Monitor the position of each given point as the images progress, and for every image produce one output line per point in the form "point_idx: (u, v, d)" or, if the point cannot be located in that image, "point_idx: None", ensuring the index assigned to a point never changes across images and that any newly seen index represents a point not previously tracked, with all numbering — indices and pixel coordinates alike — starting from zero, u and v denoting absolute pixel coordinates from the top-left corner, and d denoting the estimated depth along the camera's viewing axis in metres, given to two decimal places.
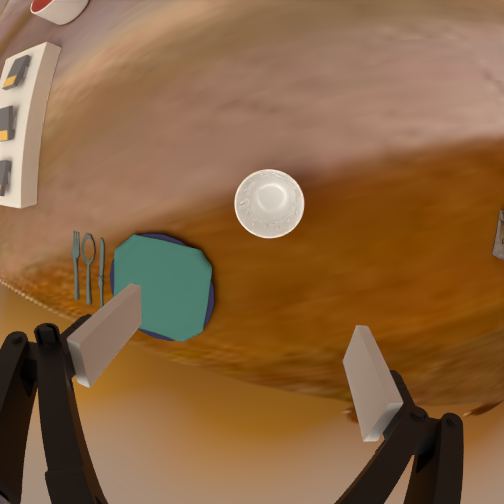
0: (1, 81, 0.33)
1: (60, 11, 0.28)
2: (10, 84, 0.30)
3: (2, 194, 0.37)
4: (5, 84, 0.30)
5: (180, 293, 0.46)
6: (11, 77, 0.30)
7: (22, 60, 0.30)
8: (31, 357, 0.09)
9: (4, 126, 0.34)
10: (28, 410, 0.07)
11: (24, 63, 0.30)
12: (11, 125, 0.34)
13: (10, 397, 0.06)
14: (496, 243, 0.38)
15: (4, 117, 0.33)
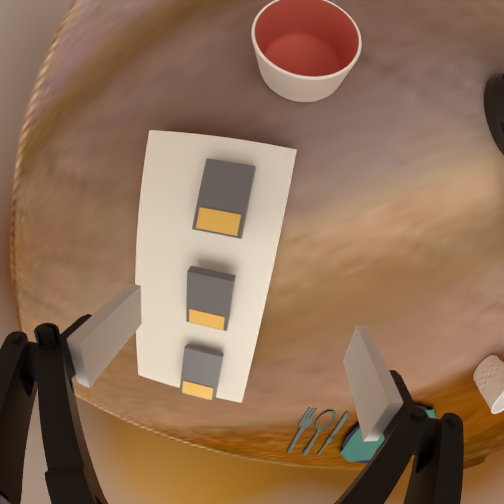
0: (148, 182, 0.29)
1: (325, 89, 0.24)
2: (226, 233, 0.27)
3: (215, 397, 0.34)
4: (203, 223, 0.27)
5: None
6: (218, 210, 0.27)
7: (243, 177, 0.26)
8: (31, 357, 0.09)
9: (213, 308, 0.30)
10: (28, 410, 0.07)
11: (251, 187, 0.27)
12: (230, 307, 0.31)
13: (10, 397, 0.06)
14: None
15: (214, 294, 0.29)
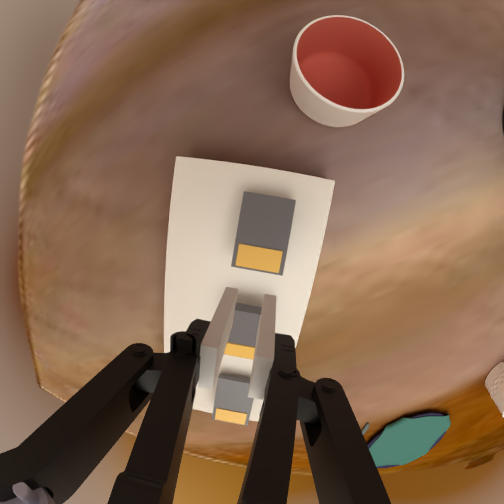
0: (176, 213, 0.29)
1: (363, 118, 0.23)
2: (267, 271, 0.26)
3: None
4: (243, 260, 0.26)
5: (421, 439, 0.42)
6: (258, 246, 0.26)
7: (284, 211, 0.26)
8: (160, 369, 0.11)
9: (251, 341, 0.29)
10: (126, 424, 0.09)
11: (291, 221, 0.26)
12: None
13: (107, 411, 0.08)
14: None
15: (253, 328, 0.28)
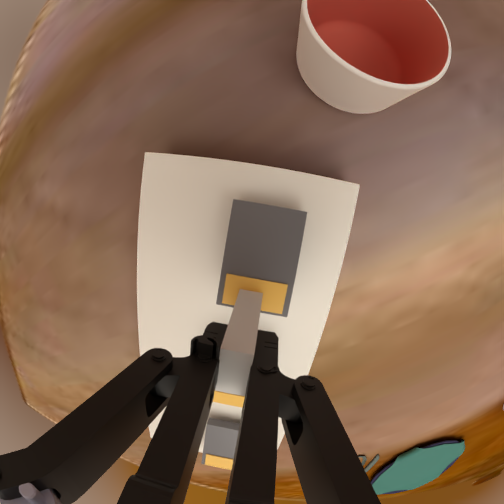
0: (146, 227, 0.21)
1: (397, 100, 0.16)
2: (266, 311, 0.18)
3: None
4: (233, 297, 0.18)
5: (432, 465, 0.34)
6: (254, 278, 0.18)
7: (290, 228, 0.18)
8: (180, 373, 0.11)
9: None
10: (141, 428, 0.09)
11: None
12: None
13: (122, 416, 0.08)
14: None
15: None
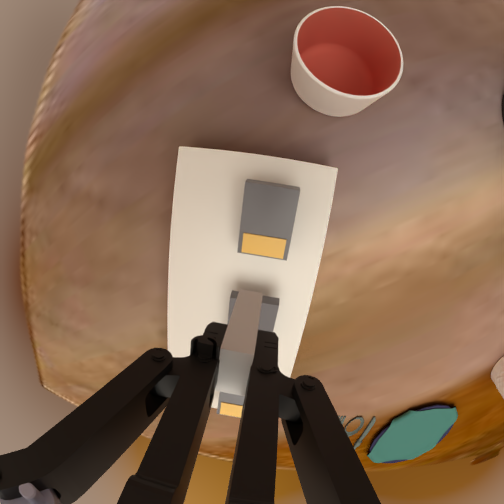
0: (179, 202, 0.29)
1: (364, 106, 0.23)
2: (272, 256, 0.27)
3: None
4: (249, 248, 0.27)
5: (428, 433, 0.41)
6: (262, 235, 0.26)
7: (288, 202, 0.25)
8: (180, 373, 0.11)
9: None
10: (141, 428, 0.09)
11: None
12: None
13: (122, 416, 0.08)
14: None
15: None
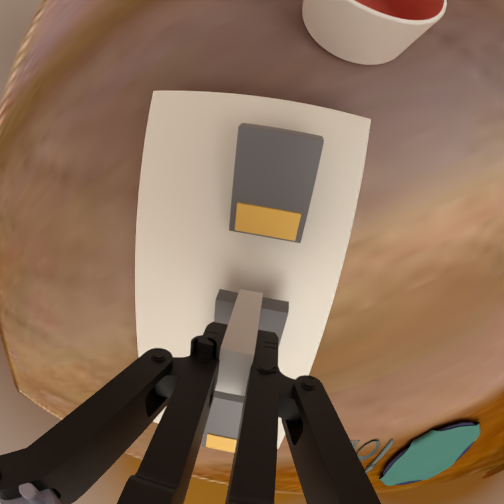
0: (150, 165, 0.20)
1: (401, 44, 0.14)
2: (280, 237, 0.19)
3: None
4: (245, 224, 0.18)
5: (447, 452, 0.32)
6: (266, 206, 0.17)
7: (305, 158, 0.15)
8: (180, 373, 0.11)
9: None
10: (141, 429, 0.09)
11: None
12: None
13: (122, 416, 0.08)
14: None
15: None
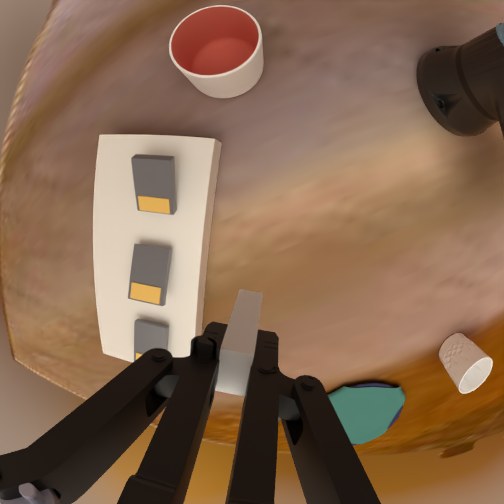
0: (99, 178, 0.33)
1: (236, 84, 0.28)
2: (162, 212, 0.32)
3: None
4: (144, 206, 0.32)
5: (374, 415, 0.46)
6: (151, 196, 0.31)
7: (163, 170, 0.29)
8: (180, 373, 0.11)
9: (152, 279, 0.33)
10: (141, 429, 0.09)
11: (172, 175, 0.29)
12: (167, 282, 0.34)
13: (122, 416, 0.08)
14: None
15: (154, 264, 0.33)
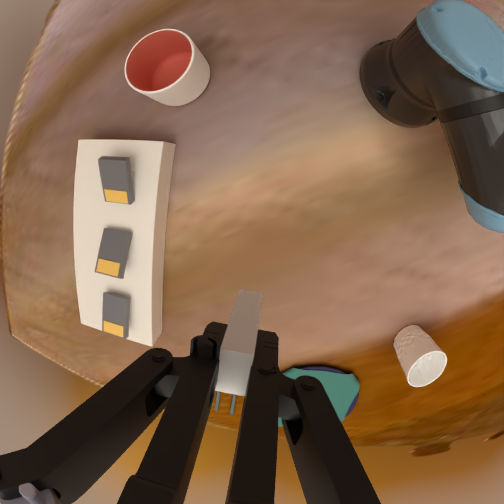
0: (78, 175, 0.39)
1: (180, 95, 0.33)
2: (122, 202, 0.38)
3: (127, 335, 0.43)
4: (109, 198, 0.38)
5: None
6: (114, 189, 0.37)
7: (121, 168, 0.34)
8: (180, 373, 0.11)
9: (114, 256, 0.39)
10: (141, 429, 0.09)
11: (128, 172, 0.35)
12: (125, 259, 0.40)
13: (122, 416, 0.08)
14: None
15: (116, 244, 0.39)
